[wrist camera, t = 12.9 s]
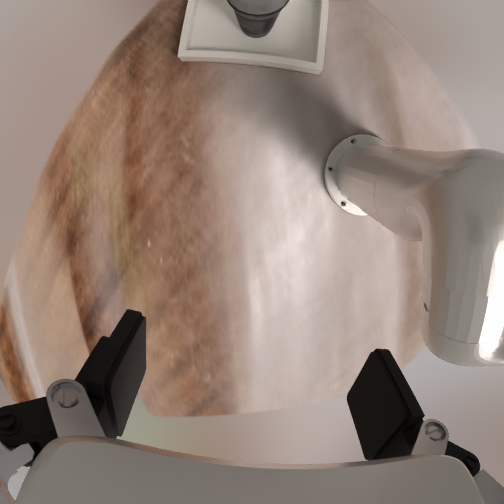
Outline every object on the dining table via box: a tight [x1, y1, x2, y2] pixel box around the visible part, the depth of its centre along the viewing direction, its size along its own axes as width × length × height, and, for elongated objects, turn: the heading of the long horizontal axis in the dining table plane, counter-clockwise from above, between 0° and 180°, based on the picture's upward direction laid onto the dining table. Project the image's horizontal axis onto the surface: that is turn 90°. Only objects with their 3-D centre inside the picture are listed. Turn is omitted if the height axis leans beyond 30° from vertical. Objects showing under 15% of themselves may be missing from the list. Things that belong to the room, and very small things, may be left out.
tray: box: [177, 0, 329, 75], centre depth 33 cm, size 20×14×3 cm
